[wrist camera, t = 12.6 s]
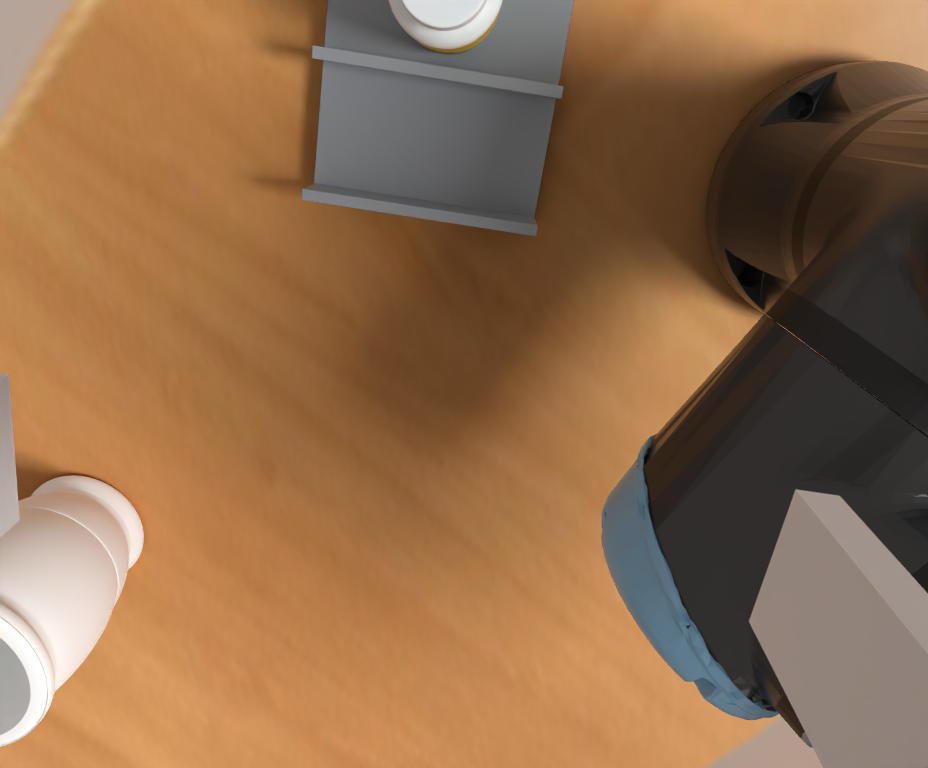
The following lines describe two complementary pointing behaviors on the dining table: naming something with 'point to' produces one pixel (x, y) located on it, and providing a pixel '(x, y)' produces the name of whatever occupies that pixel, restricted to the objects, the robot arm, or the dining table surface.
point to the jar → (58, 590)
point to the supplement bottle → (447, 22)
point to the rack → (438, 116)
